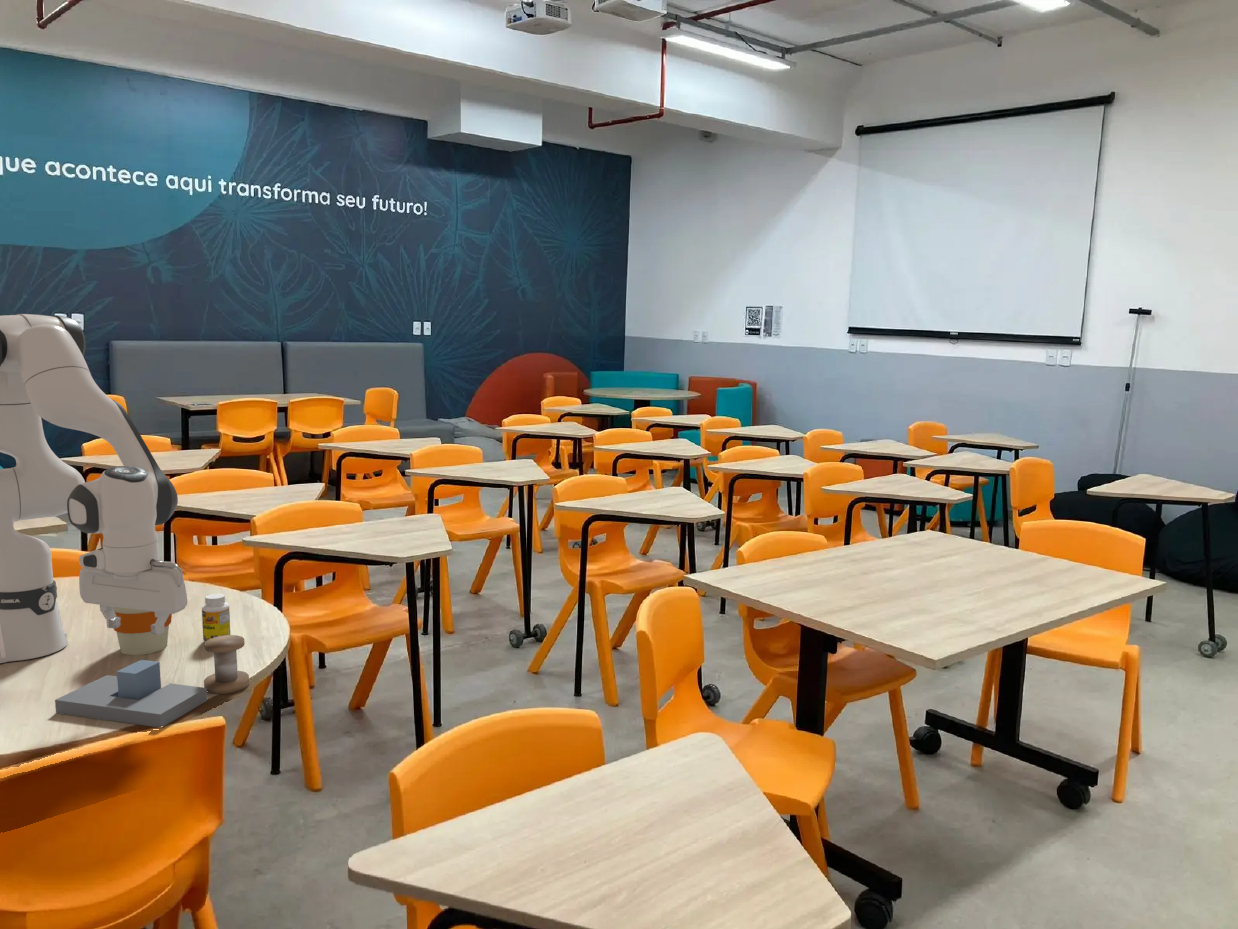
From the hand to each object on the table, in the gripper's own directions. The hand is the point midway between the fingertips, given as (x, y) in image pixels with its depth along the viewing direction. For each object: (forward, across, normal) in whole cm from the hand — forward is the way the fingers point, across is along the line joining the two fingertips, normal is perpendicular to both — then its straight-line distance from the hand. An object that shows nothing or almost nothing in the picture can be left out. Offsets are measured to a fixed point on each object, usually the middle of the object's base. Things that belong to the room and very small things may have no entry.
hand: (135, 630), depth 168 cm
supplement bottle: (+14, +7, -32) cm, 36 cm away
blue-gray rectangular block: (+14, -1, 0) cm, 14 cm away
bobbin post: (+14, -11, -10) cm, 20 cm away
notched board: (+14, -1, +2) cm, 14 cm away
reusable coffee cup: (+15, +19, -24) cm, 34 cm away
